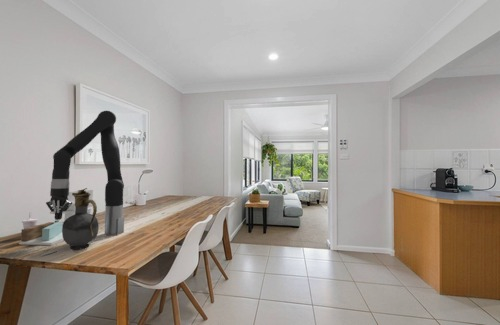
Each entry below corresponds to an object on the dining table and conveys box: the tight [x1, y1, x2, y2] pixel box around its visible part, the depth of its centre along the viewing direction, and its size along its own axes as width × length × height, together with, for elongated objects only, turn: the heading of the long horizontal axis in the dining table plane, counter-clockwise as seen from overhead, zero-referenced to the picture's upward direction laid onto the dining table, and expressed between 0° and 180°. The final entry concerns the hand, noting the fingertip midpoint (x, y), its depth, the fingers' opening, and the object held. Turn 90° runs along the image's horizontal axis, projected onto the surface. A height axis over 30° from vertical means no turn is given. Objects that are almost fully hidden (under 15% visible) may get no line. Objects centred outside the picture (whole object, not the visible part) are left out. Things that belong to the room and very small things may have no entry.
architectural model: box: [49, 189, 94, 221], centre depth 147 cm, size 28×21×23 cm
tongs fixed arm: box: [20, 221, 55, 242], centre depth 118 cm, size 15×3×6 cm, turn 179°
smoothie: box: [21, 211, 39, 229], centre depth 122 cm, size 6×6×14 cm
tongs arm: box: [42, 220, 64, 241], centre depth 120 cm, size 17×4×7 cm, turn 21°
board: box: [19, 232, 65, 246], centre depth 120 cm, size 17×20×1 cm
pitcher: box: [62, 187, 99, 251], centre depth 107 cm, size 11×19×30 cm, turn 67°
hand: (58, 219), depth 114 cm, fingers closed
